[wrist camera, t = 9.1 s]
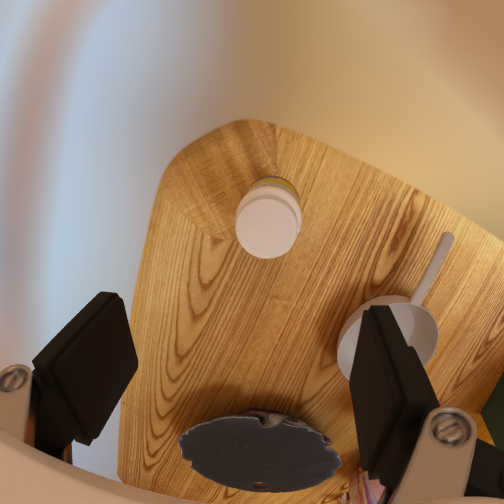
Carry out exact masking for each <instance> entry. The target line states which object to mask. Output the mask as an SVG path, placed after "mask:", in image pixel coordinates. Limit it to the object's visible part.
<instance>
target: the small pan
mask: <svg viewBox="0 0 504 504" xmlns="http://www.w3.org/2000/svg"><path fill="white" fill-rule="evenodd" d="M453 241H454V235H453V234H452V233H450V232H444V233H443V234H442V236H441V239H440V241H439V243H438V245H437V247H436V249H435V251H434V253H433V256H432V258H431V260H430V262H429V264H428V266H427V268H426V270H425V272H424V274H423V276H422V278H421V279H420V281H419V283H418V285H417V287H416V289H415V291H414V293H413V295H412V296H411V298H410V297H405V296H400V295H386V296H380V297H376V298H373V299H371V300H369V301H367V302H365V303H364V304H362V305H361V306H360V307H358V308H357V309H356V310H355V311H354V312H353V313H352V315H351V316H350V317H349V318H348V319H347V321H346V322H345V324H344V326H343V327H342V329H341V331H340V334H339V337H338V342H337V361H338V365H339V368H340V370H341V372H342V374H343V375H344V376H345V377H346V378H347V379H348V380H349V381H350V373H351V369H352V365H353V360H354V355H355V351H356V346H357V341H358V336H359V331H360V325H361V320H362V315H363V311H364V310H369V308H370V306H371V305H389V307H390V308H391V310H392V312H393V314H394V317H395V319H396V321H397V323H398V325H399V327H400V329H401V331H402V334H403V336H404V338H405V340H406V342H407V345H408V346H412V347H414V348H415V350H416V352H417V354H418V356H419V358H420V360H421V363H422V365H423V367H425V366H426V365H427V363H428V362H429V361H430V359H431V358H432V356H433V354H434V353H435V350H436V348H437V345H438V340H439V329H438V324H437V322H436V320H435V318H434V316H433V315H432V314H431V313H430V312H429V310H428V309H427V308H426V307H425V306H424V305H423V304H421V303H422V301H423V300H424V298H425V296H426V294H427V292H428V291H429V289H430V287H431V285H432V283H433V281H434V279H435V277H436V276H437V274H438V272H439V270H440V268H441V266H442V264H443V262H444V260H445V258H446V256H447V254H448V252H449V250H450V247H451V245H452V243H453Z"/></svg>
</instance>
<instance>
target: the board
mask: <svg viewBox="0 0 504 504" xmlns="http://www.w3.org/2000/svg"><path fill="white" fill-rule="evenodd" d="M180 437H181V439H179V440H178V444H179V446H180V448H181V457H182V458H183V459H185V460H188V461H191V465H190V466H191V468H192V469H194V470H195V471H197V472H198V473H199V474H201V475H202V476H204V477H206V478H207V479H209V480H212V481H214V482H216V483H219V484H221V485H224V486H225V487H226V486H227V487H232V488H236V489H240V490H245V491H251V492H271V493H279V492H293V491H298V490H303V489H307V488H309V487H314V486H316V485H319V484H320V483H323V482H324V481H325V480H326V479H328V478H331V477H332V476H334V475H335V472H334V471H335V469H337V468H339V467H340V466H342V463H341V458H340V455H339V454H338V453H337V452H335V451H334V450H333V449H329V448H326V447H325V446H326V445H331V444H333V443H332V442H331V441H330V439H329V438H327V437H326V436H325V435H323V434H322V433H320V432H319V431H317V430H315V429H313V428H312V427H311V426H309V425H308V424H307V423H305V422H303V421H302V420H299V419H297V418H295V417H294V416H291V415H287V414H283V413H280V412H276V411H268V410H261V409H256V408H250V409H244V410H243V411H242V413H240V414H238V415H232V414H228V415H225V416H217V417H214V418H212V419H210V420H209V421H205V422H202V423H200V424H197V425H196V426H194V427H192V428H189V429H188V430H186V431H185V432H183V433H182V434H181V435H180ZM256 482H261V483H262V484H259V483H256Z"/></svg>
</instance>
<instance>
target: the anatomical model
mask: <svg viewBox="0 0 504 504" xmlns="http://www.w3.org/2000/svg"><path fill="white" fill-rule="evenodd" d="M384 488H385V487H384V486H382V485H381V484H380V482H379V479H376V480H369V478H368V471H362V468H361V466H359V467H358V468H357V469H356V470H355V471H354V473H353V474H352V476H351V479H350V482H349V496H350V500H351V502H352V504H377V502H378V500H379V498H380V496H381V494H382V492H383V490H384Z"/></svg>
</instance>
